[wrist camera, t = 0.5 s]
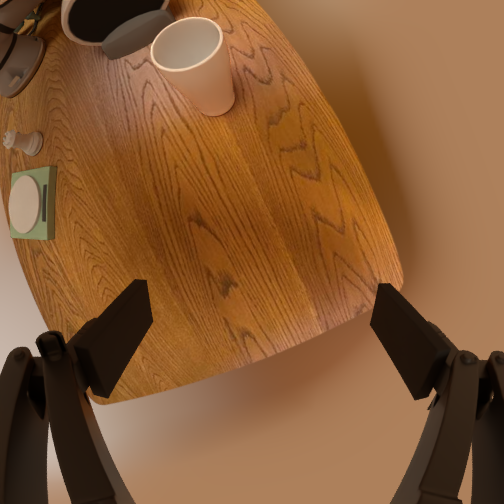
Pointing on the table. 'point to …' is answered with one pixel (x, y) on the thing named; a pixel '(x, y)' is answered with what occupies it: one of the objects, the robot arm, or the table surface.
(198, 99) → the drinking glass
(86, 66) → the table surface
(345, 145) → the table surface
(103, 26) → the alarm clock
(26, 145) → the rook chess piece
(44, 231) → the scale
